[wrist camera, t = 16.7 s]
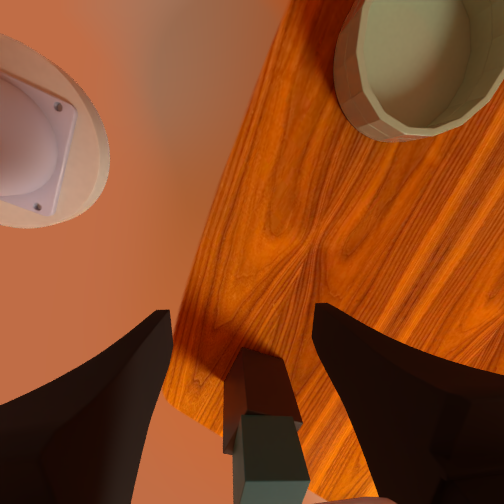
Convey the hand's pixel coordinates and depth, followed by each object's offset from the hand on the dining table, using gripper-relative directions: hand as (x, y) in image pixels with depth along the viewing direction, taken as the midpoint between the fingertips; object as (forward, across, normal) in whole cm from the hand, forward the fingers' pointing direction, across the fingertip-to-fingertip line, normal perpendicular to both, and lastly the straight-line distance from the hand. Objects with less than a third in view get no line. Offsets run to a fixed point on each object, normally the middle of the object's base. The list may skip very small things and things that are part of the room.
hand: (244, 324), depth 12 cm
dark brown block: (+10, -2, +13) cm, 17 cm away
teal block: (+3, -2, +13) cm, 13 cm away
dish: (+10, -13, -15) cm, 22 cm away
